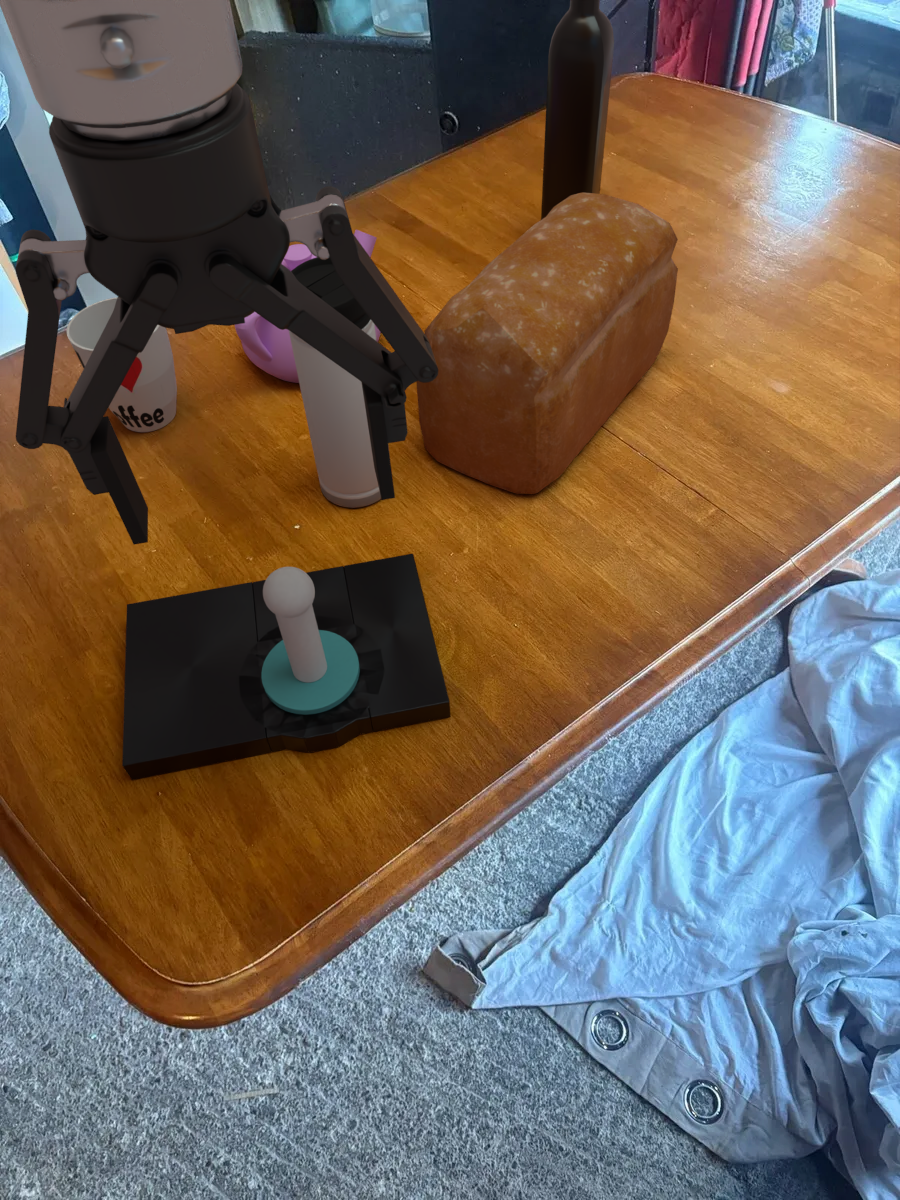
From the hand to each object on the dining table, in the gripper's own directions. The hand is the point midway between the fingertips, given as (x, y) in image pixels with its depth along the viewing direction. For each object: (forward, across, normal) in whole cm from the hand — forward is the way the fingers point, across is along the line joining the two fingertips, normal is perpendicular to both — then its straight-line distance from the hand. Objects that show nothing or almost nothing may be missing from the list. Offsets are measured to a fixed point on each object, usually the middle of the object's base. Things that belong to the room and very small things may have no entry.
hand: (264, 504), depth 50 cm
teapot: (+19, +5, +42) cm, 46 cm away
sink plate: (+19, -2, +2) cm, 19 cm away
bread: (+19, +25, +28) cm, 42 cm away
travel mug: (+19, +6, +20) cm, 28 cm away
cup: (+19, -12, +34) cm, 41 cm away
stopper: (+19, 0, 0) cm, 19 cm away
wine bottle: (+19, +35, +54) cm, 67 cm away
